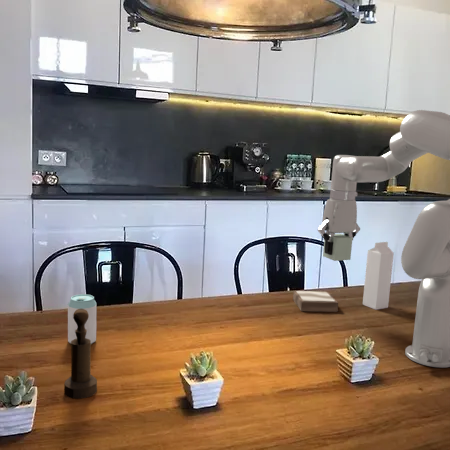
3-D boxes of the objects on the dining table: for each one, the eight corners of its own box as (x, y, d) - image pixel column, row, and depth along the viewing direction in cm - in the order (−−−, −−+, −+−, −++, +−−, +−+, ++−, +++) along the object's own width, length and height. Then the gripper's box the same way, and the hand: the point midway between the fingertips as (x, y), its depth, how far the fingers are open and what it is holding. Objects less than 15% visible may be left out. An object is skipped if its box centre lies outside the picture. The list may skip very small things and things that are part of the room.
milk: (362, 304, 180) (367, 241, 177) (374, 302, 184) (380, 239, 180) (376, 310, 175) (382, 244, 172) (388, 307, 179) (394, 243, 175)
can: (99, 344, 136) (100, 299, 134) (72, 349, 133) (72, 303, 130) (91, 335, 142) (91, 292, 140) (64, 339, 138) (64, 295, 136)
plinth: (337, 311, 172) (338, 302, 171) (301, 311, 170) (301, 301, 170) (327, 300, 183) (327, 291, 183) (292, 299, 182) (293, 290, 182)
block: (350, 259, 164) (352, 237, 163) (334, 260, 162) (336, 238, 161) (338, 255, 170) (340, 233, 168) (322, 256, 167) (324, 234, 166)
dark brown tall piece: (84, 381, 116) (85, 302, 113) (103, 391, 112) (104, 309, 109) (58, 391, 111) (57, 309, 108) (76, 402, 107) (76, 317, 104)
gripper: (357, 194, 169) (351, 249, 173) (312, 194, 162) (307, 251, 165) (373, 197, 163) (366, 254, 166) (326, 197, 155) (321, 257, 158)
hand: (337, 252), depth 165 cm, fingers closed on block, 6 cm apart
